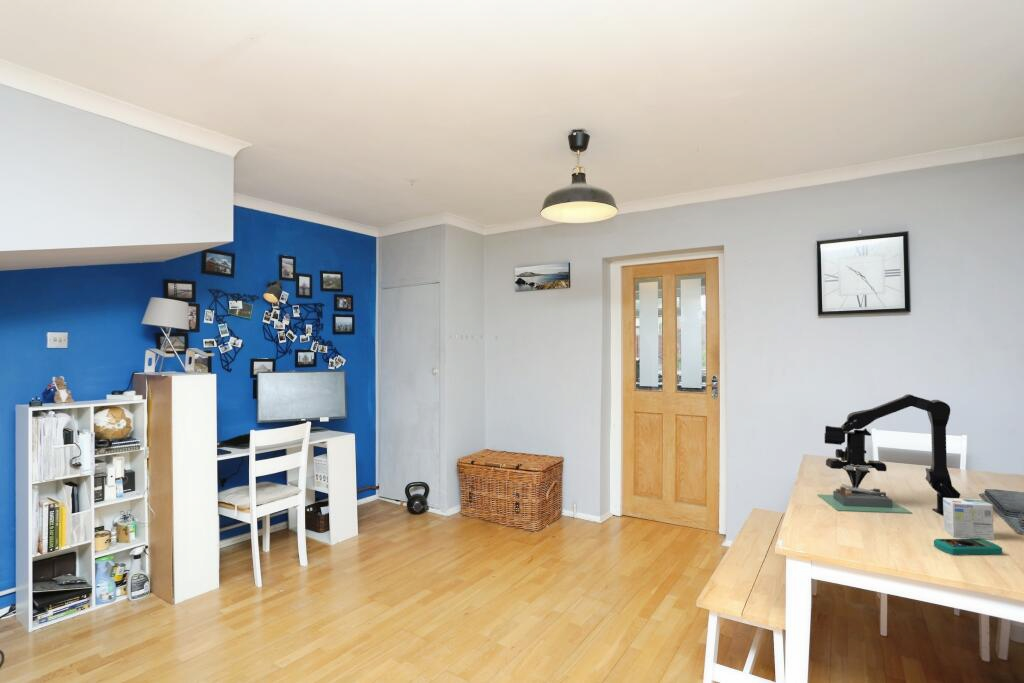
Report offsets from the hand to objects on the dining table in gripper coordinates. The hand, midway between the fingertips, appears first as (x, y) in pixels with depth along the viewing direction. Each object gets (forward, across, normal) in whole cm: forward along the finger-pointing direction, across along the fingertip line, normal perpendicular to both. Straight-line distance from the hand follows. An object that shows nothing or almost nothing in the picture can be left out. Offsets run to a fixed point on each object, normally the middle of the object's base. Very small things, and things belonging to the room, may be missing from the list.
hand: (855, 487), depth 200 cm
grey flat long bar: (+1, -2, 0) cm, 2 cm away
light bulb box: (+6, -20, +30) cm, 37 cm away
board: (+6, -2, 0) cm, 7 cm away
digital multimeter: (+6, -12, +44) cm, 46 cm away
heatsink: (+6, -2, 0) cm, 7 cm away
